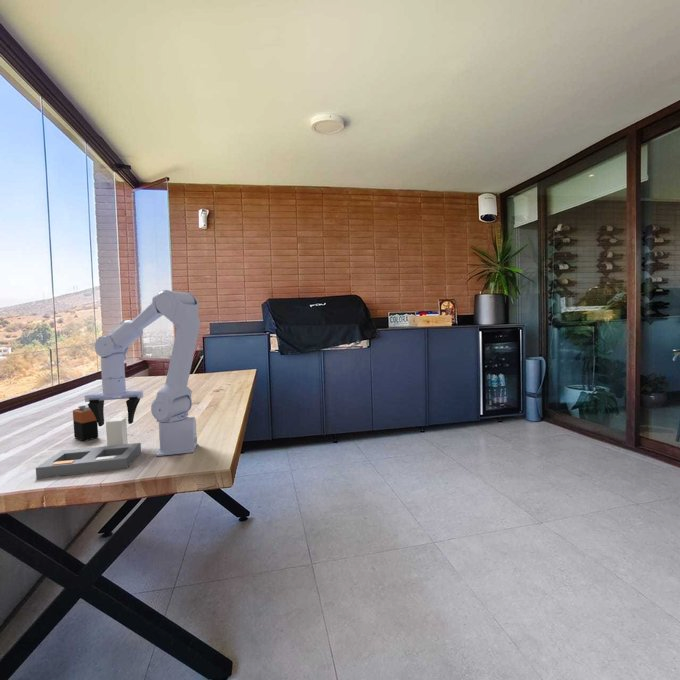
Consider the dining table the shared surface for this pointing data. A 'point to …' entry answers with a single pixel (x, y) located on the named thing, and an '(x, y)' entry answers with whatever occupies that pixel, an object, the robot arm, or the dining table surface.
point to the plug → (116, 431)
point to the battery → (84, 424)
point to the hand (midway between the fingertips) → (116, 424)
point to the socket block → (89, 460)
